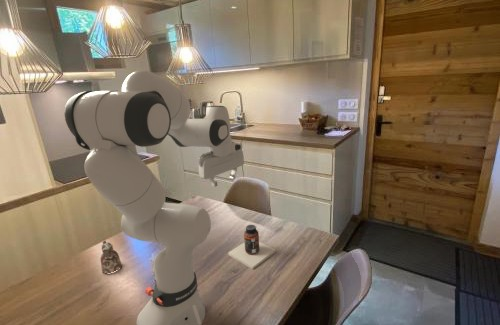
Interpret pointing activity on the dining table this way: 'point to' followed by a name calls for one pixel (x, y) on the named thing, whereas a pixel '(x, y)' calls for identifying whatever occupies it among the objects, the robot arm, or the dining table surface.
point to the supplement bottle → (251, 239)
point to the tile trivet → (250, 259)
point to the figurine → (109, 258)
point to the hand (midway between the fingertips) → (223, 182)
